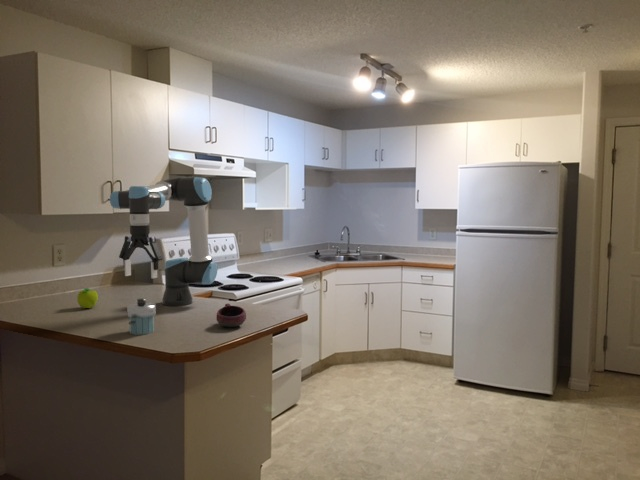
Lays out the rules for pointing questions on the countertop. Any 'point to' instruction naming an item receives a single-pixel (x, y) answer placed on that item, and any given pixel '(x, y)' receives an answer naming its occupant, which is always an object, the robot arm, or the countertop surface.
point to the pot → (141, 325)
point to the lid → (141, 309)
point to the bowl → (231, 316)
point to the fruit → (87, 298)
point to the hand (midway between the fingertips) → (141, 276)
